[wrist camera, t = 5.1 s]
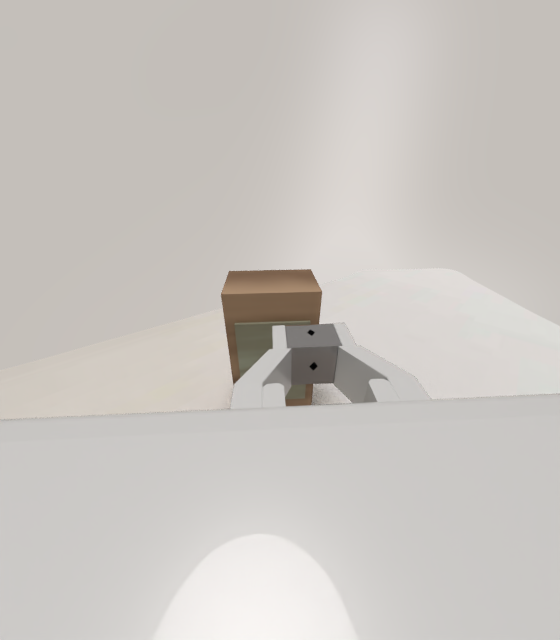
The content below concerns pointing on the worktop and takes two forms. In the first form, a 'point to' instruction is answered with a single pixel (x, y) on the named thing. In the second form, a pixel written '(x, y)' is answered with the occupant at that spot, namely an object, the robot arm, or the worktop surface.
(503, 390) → the worktop surface
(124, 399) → the worktop surface
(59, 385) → the worktop surface
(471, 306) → the worktop surface
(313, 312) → the walnut cabinet
